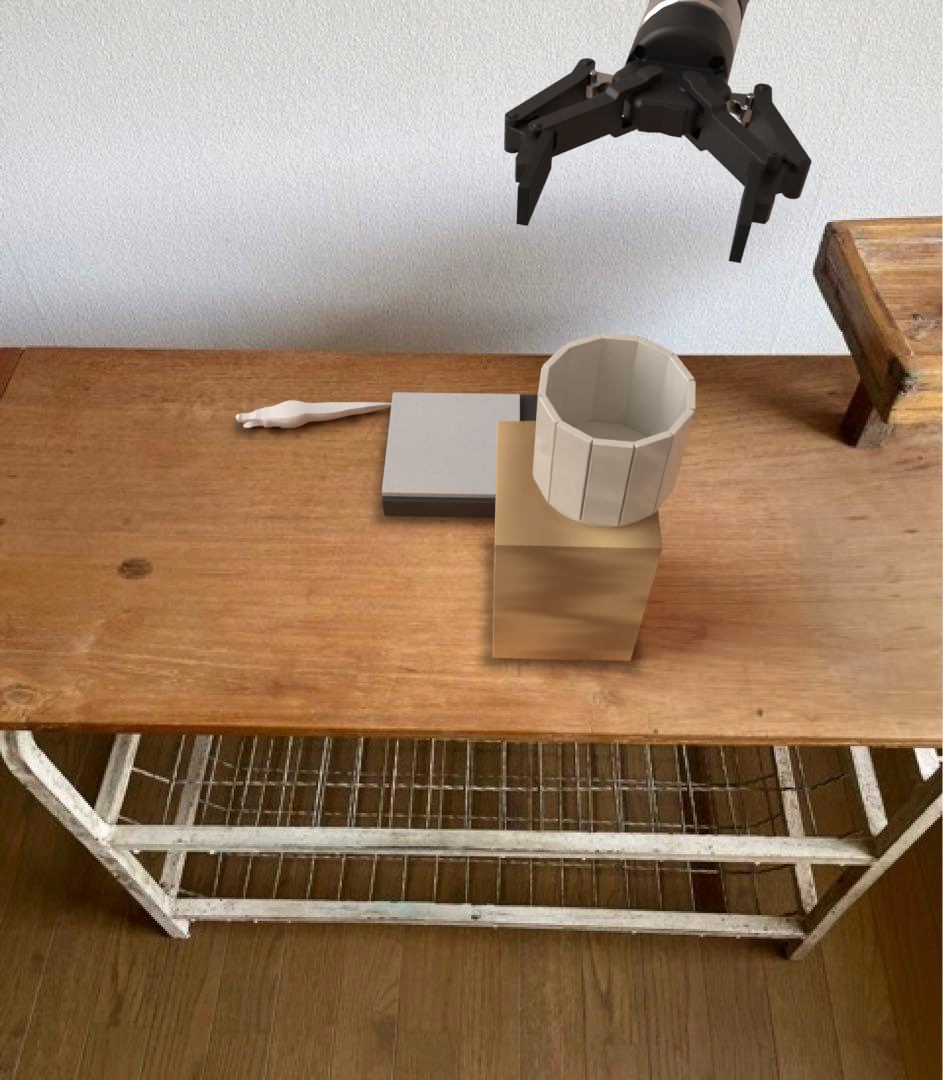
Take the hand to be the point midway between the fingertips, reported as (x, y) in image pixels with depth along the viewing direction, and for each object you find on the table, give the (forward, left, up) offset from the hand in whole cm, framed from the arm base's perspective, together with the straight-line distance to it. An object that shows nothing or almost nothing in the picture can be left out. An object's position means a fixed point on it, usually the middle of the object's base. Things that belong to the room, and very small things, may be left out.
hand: (628, 225), depth 57 cm
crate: (0, +9, -30) cm, 32 cm away
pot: (-2, +8, -14) cm, 16 cm away
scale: (+13, -3, -30) cm, 33 cm away
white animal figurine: (+27, -4, -30) cm, 41 cm away
